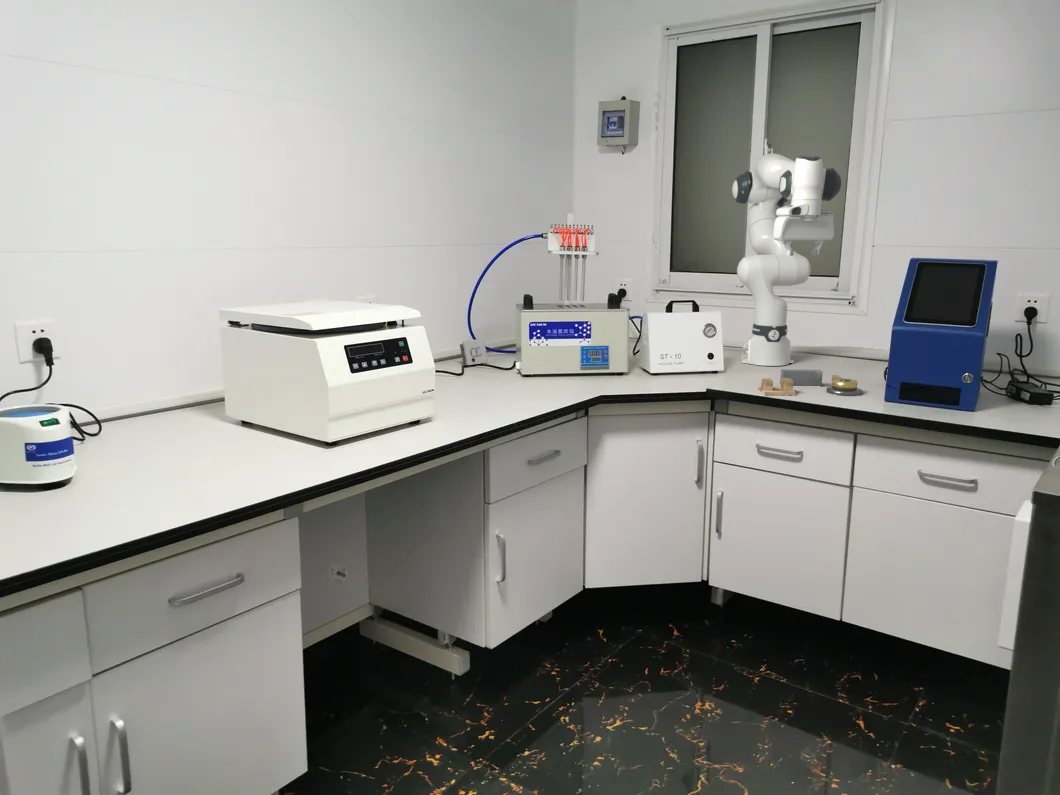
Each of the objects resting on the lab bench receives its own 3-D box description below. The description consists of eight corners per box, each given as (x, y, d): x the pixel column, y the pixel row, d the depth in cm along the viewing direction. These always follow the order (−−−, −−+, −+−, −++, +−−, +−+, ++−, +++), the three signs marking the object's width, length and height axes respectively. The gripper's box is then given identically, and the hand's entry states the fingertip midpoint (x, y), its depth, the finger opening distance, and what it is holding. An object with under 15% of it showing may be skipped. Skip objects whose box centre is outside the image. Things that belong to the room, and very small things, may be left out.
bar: (780, 384, 251) (781, 369, 250) (818, 385, 250) (819, 369, 249) (782, 386, 248) (783, 371, 247) (821, 387, 247) (822, 371, 246)
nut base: (821, 388, 244) (822, 385, 244) (854, 389, 244) (854, 385, 244) (832, 395, 234) (833, 392, 234) (867, 396, 234) (867, 392, 234)
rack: (758, 389, 243) (759, 376, 242) (787, 389, 243) (788, 377, 242) (764, 395, 235) (765, 382, 234) (795, 395, 235) (796, 382, 234)
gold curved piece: (822, 382, 248) (823, 374, 247) (845, 382, 247) (846, 374, 247) (836, 390, 236) (837, 381, 235) (860, 391, 235) (861, 382, 235)
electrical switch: (468, 367, 281) (466, 341, 279) (459, 366, 285) (457, 340, 283) (488, 364, 287) (486, 338, 286) (479, 363, 291) (478, 338, 289)
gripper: (826, 210, 250) (823, 254, 253) (771, 210, 244) (768, 255, 247) (840, 210, 245) (836, 255, 247) (784, 209, 238) (781, 256, 241)
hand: (802, 255), depth 247 cm, fingers open, 8 cm apart
